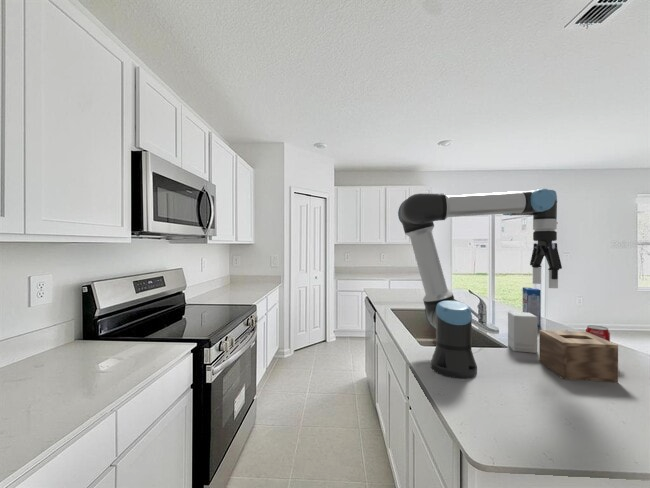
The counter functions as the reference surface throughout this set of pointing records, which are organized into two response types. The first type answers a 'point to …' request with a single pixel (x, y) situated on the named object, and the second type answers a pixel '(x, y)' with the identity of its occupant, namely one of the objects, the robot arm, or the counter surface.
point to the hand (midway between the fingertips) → (544, 285)
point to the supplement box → (522, 332)
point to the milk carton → (532, 302)
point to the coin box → (578, 355)
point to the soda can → (599, 331)
